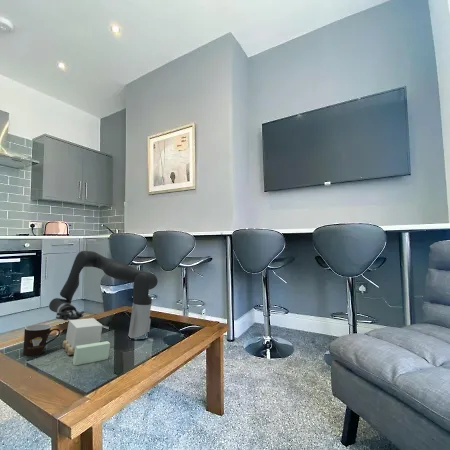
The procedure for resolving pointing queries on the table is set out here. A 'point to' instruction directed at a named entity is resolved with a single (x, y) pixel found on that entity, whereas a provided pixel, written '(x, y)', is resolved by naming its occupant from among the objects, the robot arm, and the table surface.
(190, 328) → the table surface
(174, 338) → the table surface
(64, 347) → the roller rear
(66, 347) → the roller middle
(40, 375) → the table surface
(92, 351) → the block
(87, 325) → the white stacked block
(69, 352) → the roller front
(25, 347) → the coffee mug
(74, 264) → the robot arm
